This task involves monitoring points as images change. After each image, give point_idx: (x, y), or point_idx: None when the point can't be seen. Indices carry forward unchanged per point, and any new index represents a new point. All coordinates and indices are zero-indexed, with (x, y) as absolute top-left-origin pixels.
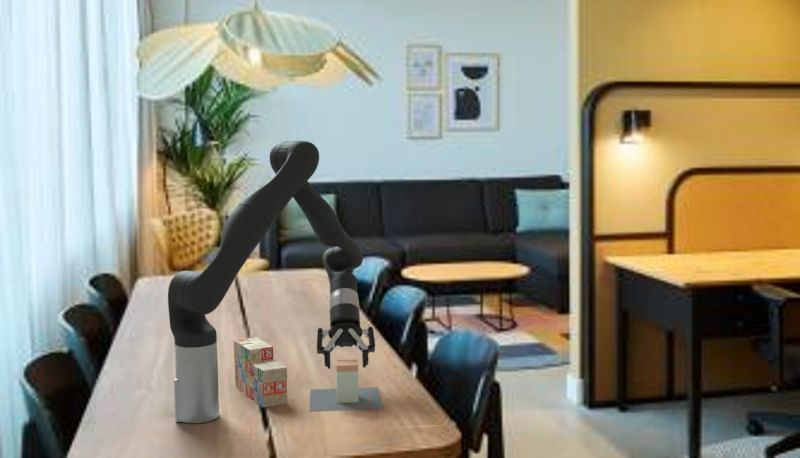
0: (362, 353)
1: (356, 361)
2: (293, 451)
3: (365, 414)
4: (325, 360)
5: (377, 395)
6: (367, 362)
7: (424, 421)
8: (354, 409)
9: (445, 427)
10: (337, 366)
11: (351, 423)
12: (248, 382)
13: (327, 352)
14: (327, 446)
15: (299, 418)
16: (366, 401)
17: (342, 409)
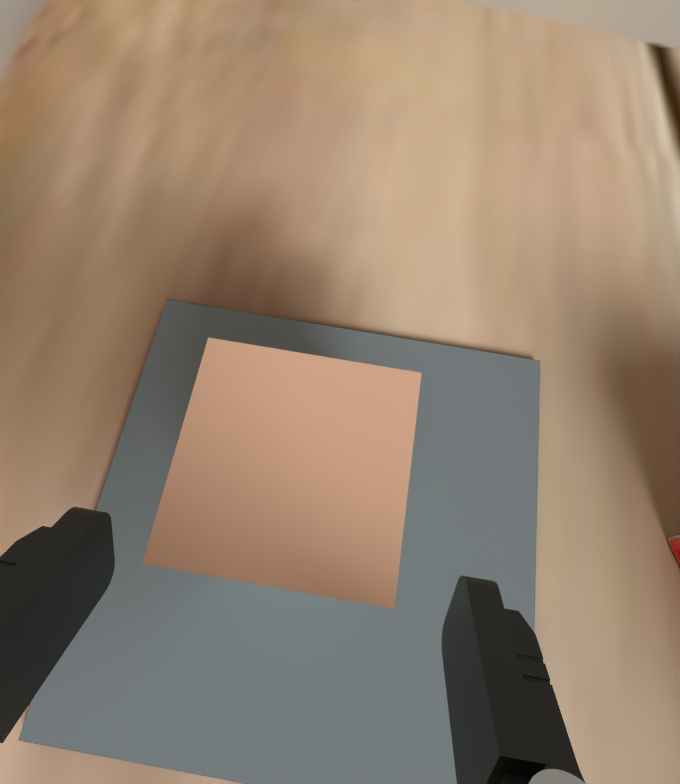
0: (15, 619)
1: (179, 475)
2: (590, 29)
3: (271, 276)
4: (527, 649)
5: None
6: (46, 528)
7: (60, 138)
8: (311, 326)
9: (19, 69)
10: (413, 373)
11: (359, 193)
12: None
13: (536, 740)
14: (479, 35)
15: (583, 308)
16: None
17: (370, 343)
